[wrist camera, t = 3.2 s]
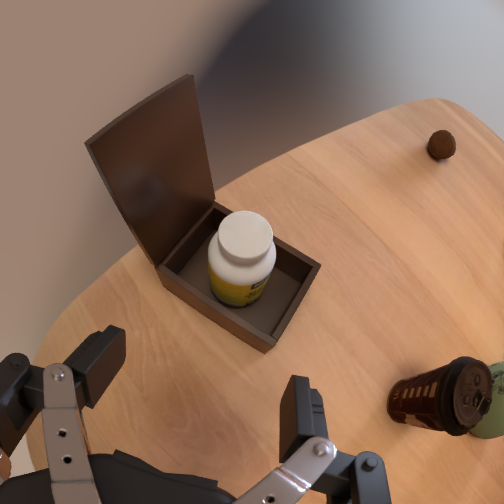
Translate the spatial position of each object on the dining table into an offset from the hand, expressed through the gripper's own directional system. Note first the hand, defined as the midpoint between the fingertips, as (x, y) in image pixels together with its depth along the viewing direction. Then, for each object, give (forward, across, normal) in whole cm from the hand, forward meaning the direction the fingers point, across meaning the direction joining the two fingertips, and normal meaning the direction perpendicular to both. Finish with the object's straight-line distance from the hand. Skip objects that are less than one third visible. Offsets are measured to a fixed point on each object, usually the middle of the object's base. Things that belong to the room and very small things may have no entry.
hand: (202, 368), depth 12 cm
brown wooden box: (+22, 0, +6) cm, 23 cm away
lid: (+14, +8, -6) cm, 17 cm away
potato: (+53, -39, -25) cm, 70 cm away
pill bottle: (+22, 0, +5) cm, 22 cm away
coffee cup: (+14, -25, +14) cm, 32 cm away
